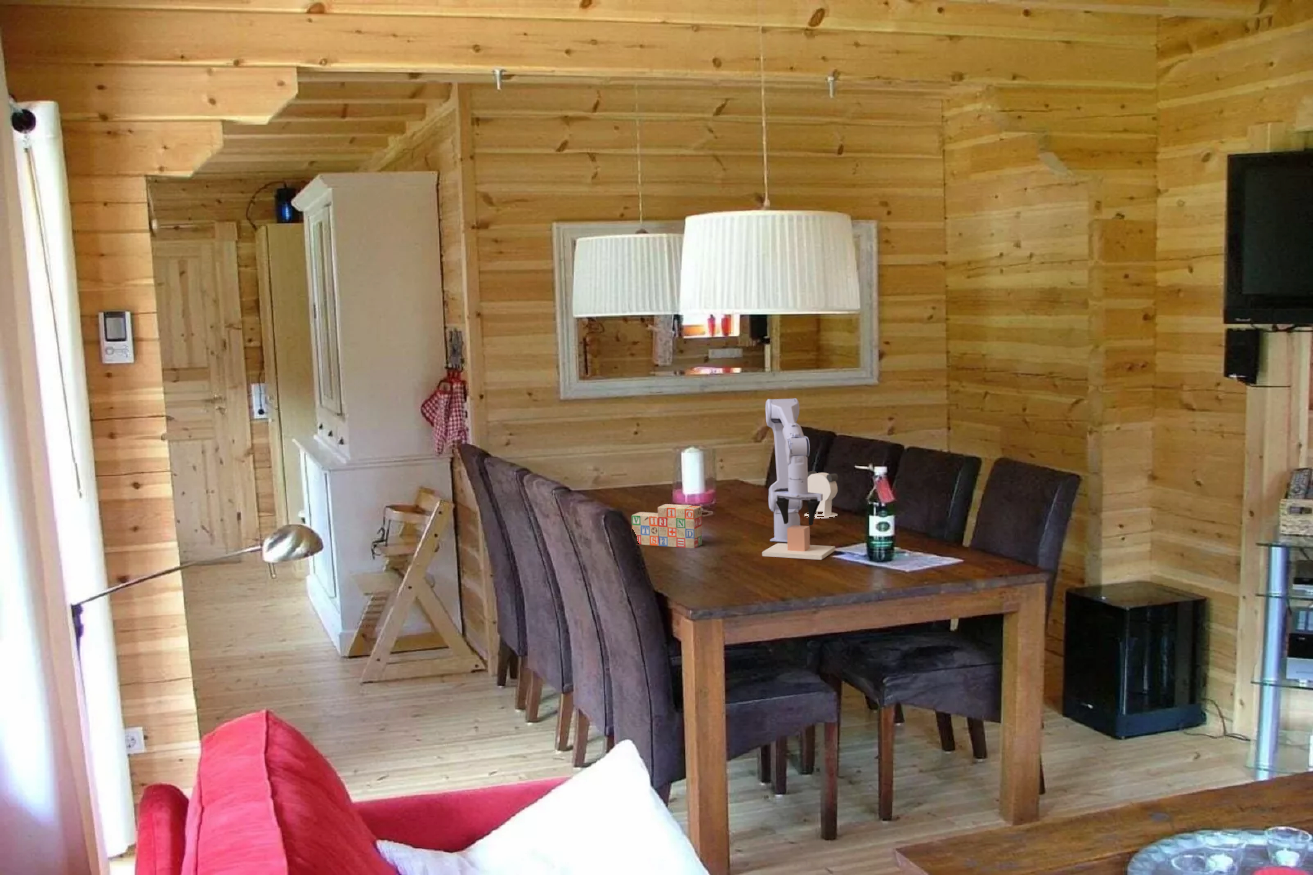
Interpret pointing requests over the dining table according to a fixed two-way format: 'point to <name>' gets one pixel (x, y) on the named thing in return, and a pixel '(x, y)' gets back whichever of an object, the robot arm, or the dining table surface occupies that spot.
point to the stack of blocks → (670, 526)
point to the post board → (799, 552)
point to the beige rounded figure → (823, 491)
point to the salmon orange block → (798, 538)
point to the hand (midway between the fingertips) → (798, 524)
